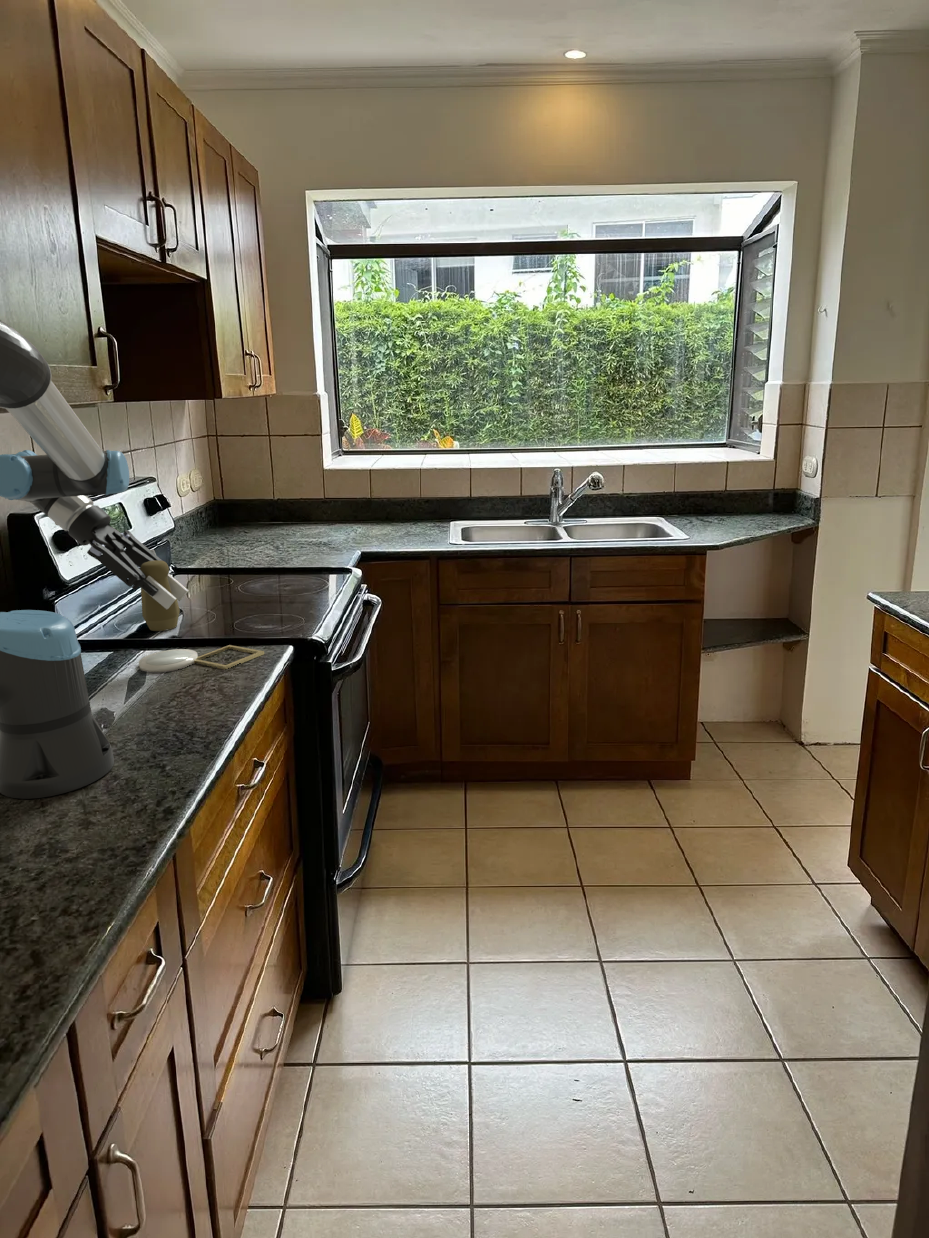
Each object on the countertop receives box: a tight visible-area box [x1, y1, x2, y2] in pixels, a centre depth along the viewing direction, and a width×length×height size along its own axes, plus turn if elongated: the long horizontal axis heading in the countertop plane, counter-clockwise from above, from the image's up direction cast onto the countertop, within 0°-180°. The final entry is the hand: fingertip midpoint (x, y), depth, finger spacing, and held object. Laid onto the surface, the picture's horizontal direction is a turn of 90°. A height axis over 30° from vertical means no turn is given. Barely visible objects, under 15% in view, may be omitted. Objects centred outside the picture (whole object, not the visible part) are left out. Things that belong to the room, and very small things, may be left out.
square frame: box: [194, 644, 265, 670], centre depth 165 cm, size 10×10×1 cm
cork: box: [139, 560, 178, 621], centre depth 160 cm, size 6×6×11 cm
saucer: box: [138, 648, 199, 674], centre depth 164 cm, size 11×11×1 cm
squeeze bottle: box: [140, 549, 181, 632], centre depth 186 cm, size 8×8×18 cm
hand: (177, 599), depth 161 cm, fingers closed on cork, 5 cm apart
